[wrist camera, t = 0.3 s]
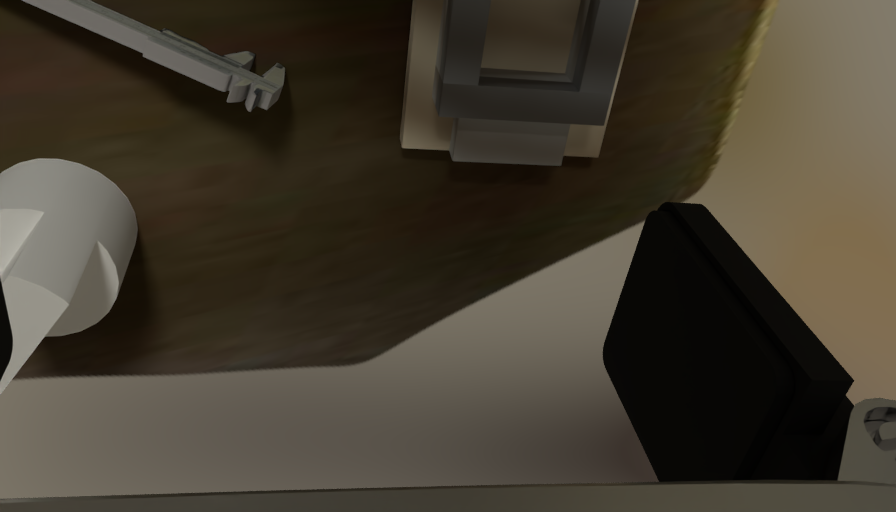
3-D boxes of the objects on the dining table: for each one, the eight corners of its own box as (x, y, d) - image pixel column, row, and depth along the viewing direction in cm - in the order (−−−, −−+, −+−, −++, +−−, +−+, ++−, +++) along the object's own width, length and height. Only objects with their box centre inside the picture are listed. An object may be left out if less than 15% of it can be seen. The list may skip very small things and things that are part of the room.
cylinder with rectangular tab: (26, 130, 44) (-55, 240, 34) (164, 209, 49) (128, 327, 39) (-42, 234, 47) (-134, 361, 38) (94, 300, 52) (43, 430, 42)
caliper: (286, 62, 45) (282, 103, 40) (280, 79, 45) (276, 122, 40) (-111, -88, 37) (-178, -62, 32) (-113, -67, 38) (-179, -38, 33)
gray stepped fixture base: (428, -163, 39) (440, -154, 35) (661, -133, 41) (695, -122, 38) (399, 137, 48) (407, 170, 44) (591, 147, 51) (613, 178, 47)
